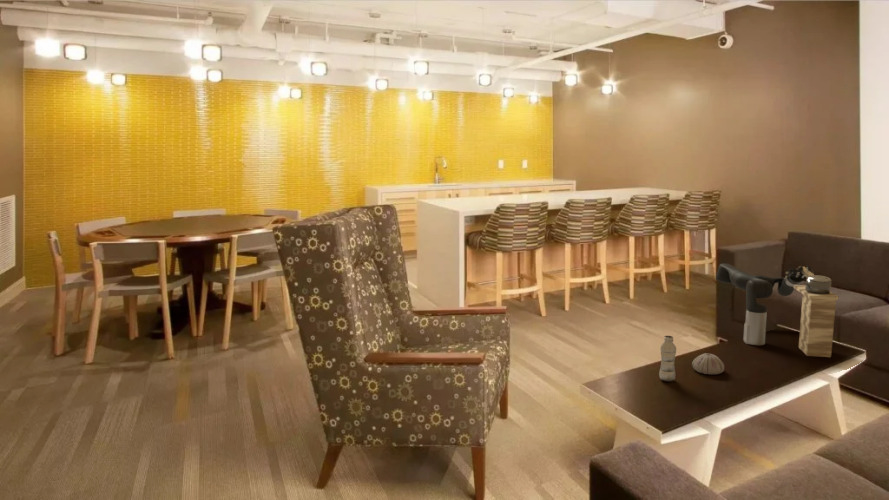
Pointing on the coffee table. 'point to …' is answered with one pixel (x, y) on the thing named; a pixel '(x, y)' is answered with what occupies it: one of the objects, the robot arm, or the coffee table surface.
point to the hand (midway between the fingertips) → (805, 268)
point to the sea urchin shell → (708, 364)
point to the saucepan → (816, 283)
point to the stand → (816, 322)
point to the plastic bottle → (667, 359)
